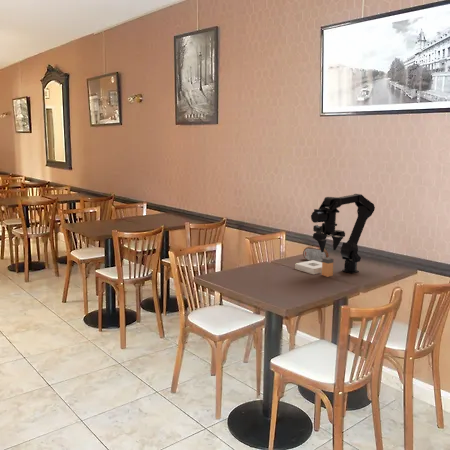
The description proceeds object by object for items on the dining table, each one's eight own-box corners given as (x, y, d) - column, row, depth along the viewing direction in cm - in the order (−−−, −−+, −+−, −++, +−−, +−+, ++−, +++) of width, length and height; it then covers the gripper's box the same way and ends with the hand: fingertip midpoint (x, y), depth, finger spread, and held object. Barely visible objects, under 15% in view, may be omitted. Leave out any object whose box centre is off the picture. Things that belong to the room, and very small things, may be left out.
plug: (327, 273, 254) (327, 257, 252) (332, 275, 251) (333, 258, 249) (321, 275, 252) (322, 258, 250) (327, 276, 248) (328, 259, 247)
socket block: (313, 265, 272) (313, 260, 271) (331, 270, 260) (332, 265, 260) (295, 268, 264) (295, 263, 263) (313, 274, 252) (313, 269, 252)
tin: (328, 262, 278) (329, 248, 277) (326, 263, 276) (327, 249, 274) (304, 259, 286) (304, 245, 285) (302, 260, 284) (302, 246, 282)
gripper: (330, 218, 258) (328, 246, 261) (305, 220, 247) (304, 250, 250) (346, 220, 249) (344, 250, 252) (321, 223, 239) (320, 254, 241)
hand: (328, 251), depth 249 cm, fingers open, 9 cm apart
